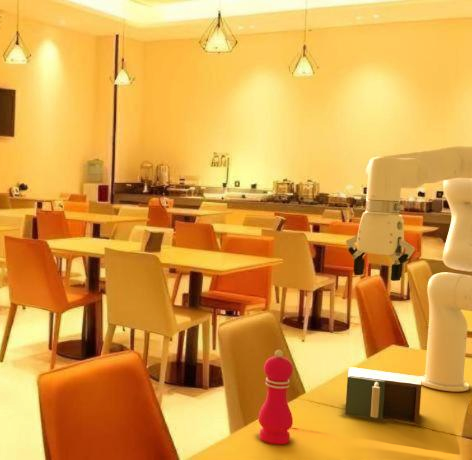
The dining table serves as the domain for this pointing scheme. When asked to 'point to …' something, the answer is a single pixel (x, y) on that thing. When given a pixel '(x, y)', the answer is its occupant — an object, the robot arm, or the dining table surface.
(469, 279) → the robot arm
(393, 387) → the cabinet
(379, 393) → the sliding door
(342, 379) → the dining table surface
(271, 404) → the pepper mill
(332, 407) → the dining table surface
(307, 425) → the dining table surface
